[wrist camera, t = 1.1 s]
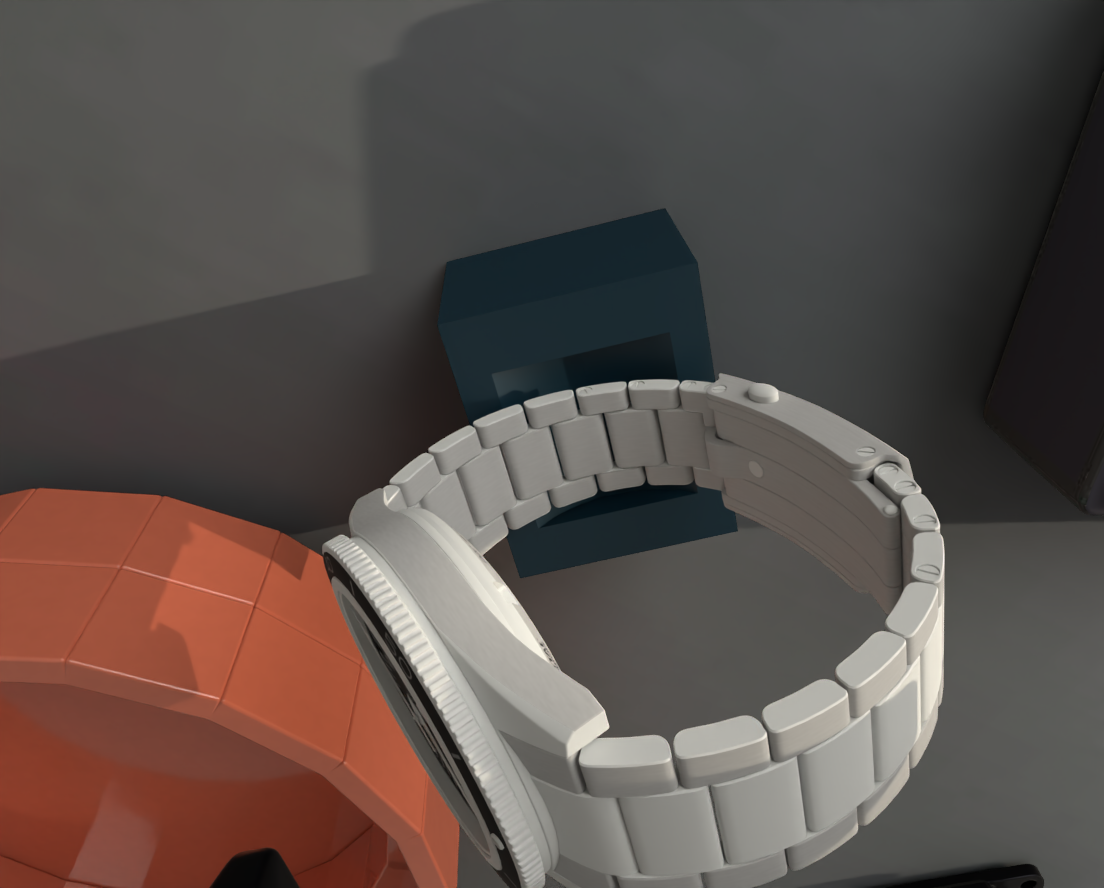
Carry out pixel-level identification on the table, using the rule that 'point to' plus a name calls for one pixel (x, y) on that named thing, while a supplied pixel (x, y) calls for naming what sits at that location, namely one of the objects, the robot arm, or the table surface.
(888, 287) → the table surface
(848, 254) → the table surface
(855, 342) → the table surface
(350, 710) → the terracotta bowl
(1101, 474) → the calculator
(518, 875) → the watch
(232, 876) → the robot arm
